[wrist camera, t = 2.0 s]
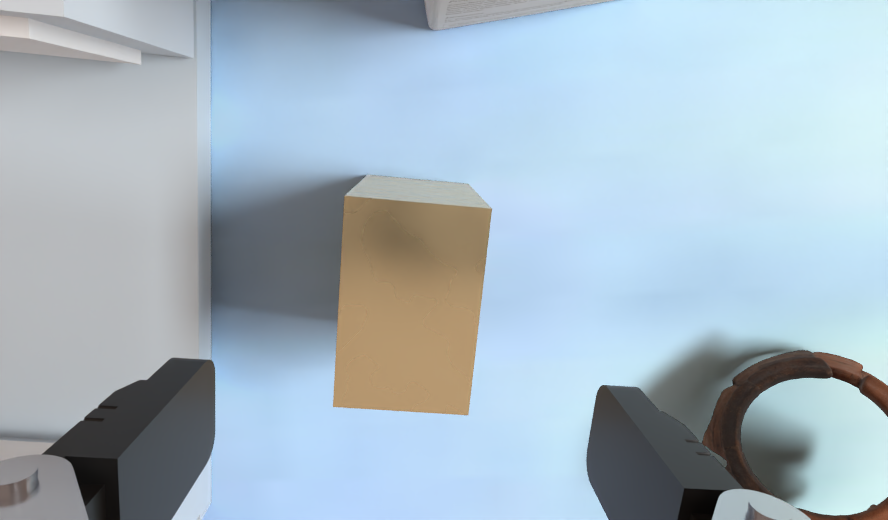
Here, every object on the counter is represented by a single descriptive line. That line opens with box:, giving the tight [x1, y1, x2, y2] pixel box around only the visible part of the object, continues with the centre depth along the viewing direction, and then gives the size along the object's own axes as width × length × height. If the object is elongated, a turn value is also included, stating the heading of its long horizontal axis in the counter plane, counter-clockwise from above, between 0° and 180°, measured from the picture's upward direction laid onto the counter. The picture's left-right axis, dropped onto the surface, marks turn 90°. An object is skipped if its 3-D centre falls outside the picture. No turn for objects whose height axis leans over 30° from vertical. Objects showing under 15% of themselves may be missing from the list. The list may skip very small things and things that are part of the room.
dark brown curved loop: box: [702, 350, 888, 520], centre depth 25 cm, size 12×9×8 cm
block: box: [333, 175, 492, 415], centre depth 21 cm, size 4×7×8 cm, turn 174°
